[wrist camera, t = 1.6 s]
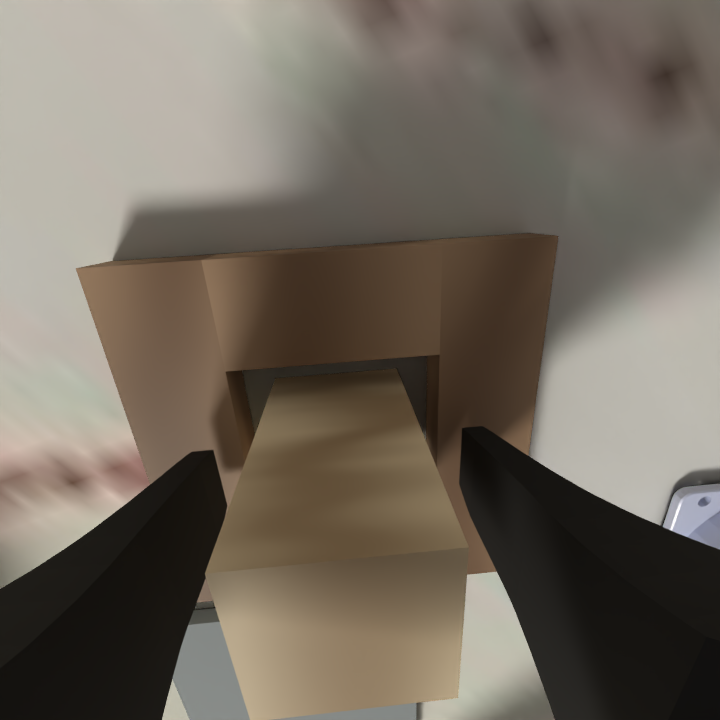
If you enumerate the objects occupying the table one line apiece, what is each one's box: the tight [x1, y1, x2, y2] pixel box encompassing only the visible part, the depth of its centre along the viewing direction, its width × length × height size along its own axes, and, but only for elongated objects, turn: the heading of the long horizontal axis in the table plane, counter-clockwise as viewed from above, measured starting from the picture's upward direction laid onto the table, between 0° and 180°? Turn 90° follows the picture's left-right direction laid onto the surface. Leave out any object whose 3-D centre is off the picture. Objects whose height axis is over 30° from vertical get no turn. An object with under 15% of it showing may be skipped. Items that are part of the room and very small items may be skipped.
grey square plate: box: [172, 608, 416, 720], centre depth 18 cm, size 11×11×1 cm
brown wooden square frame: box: [76, 233, 558, 602], centre depth 12 cm, size 12×12×2 cm
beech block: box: [205, 368, 469, 720], centre depth 9 cm, size 4×4×7 cm
